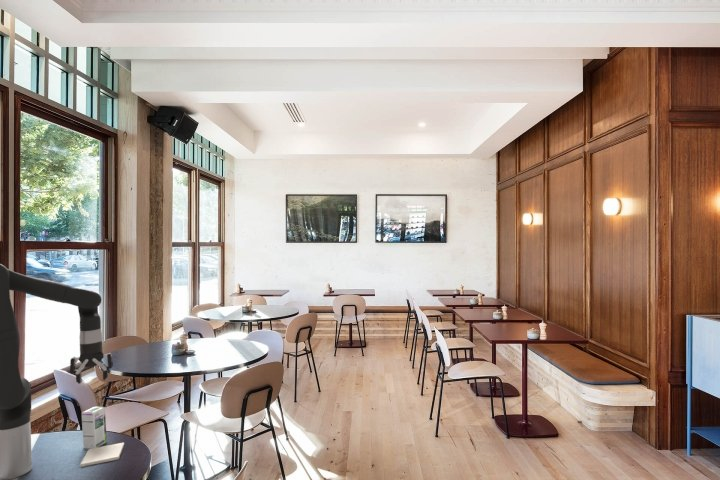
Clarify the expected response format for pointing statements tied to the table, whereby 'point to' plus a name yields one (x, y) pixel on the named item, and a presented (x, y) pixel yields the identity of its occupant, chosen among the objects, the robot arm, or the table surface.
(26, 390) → the robot arm
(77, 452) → the table surface
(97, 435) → the syrup box
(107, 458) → the ceramic tile
